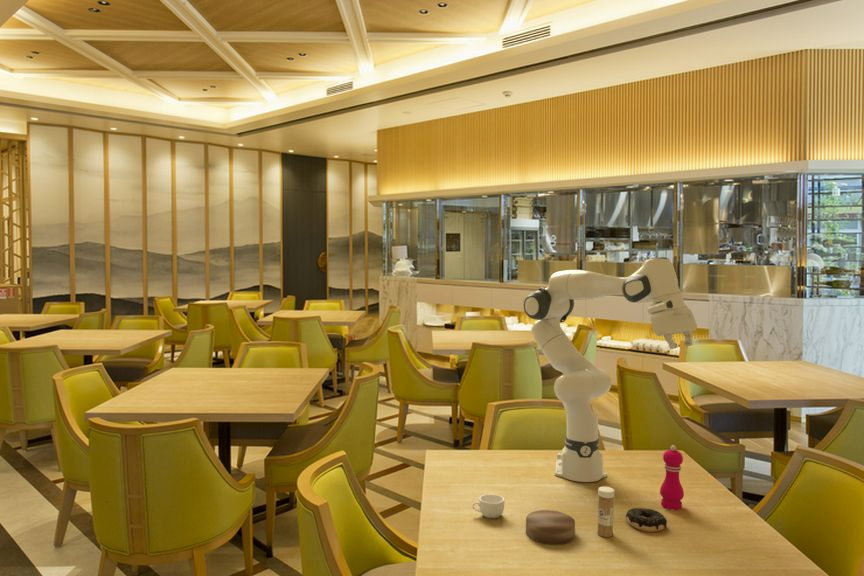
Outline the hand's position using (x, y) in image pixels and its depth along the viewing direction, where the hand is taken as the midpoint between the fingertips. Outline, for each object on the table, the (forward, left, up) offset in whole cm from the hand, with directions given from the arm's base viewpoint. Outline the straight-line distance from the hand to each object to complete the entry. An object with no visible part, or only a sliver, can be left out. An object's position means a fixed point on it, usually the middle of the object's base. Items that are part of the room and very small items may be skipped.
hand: (681, 347), depth 200 cm
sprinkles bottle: (+19, -28, -52) cm, 62 cm away
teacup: (+7, -61, -52) cm, 81 cm away
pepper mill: (-2, -1, -52) cm, 52 cm away
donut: (+12, -14, -52) cm, 56 cm away
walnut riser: (+19, -44, -52) cm, 71 cm away
